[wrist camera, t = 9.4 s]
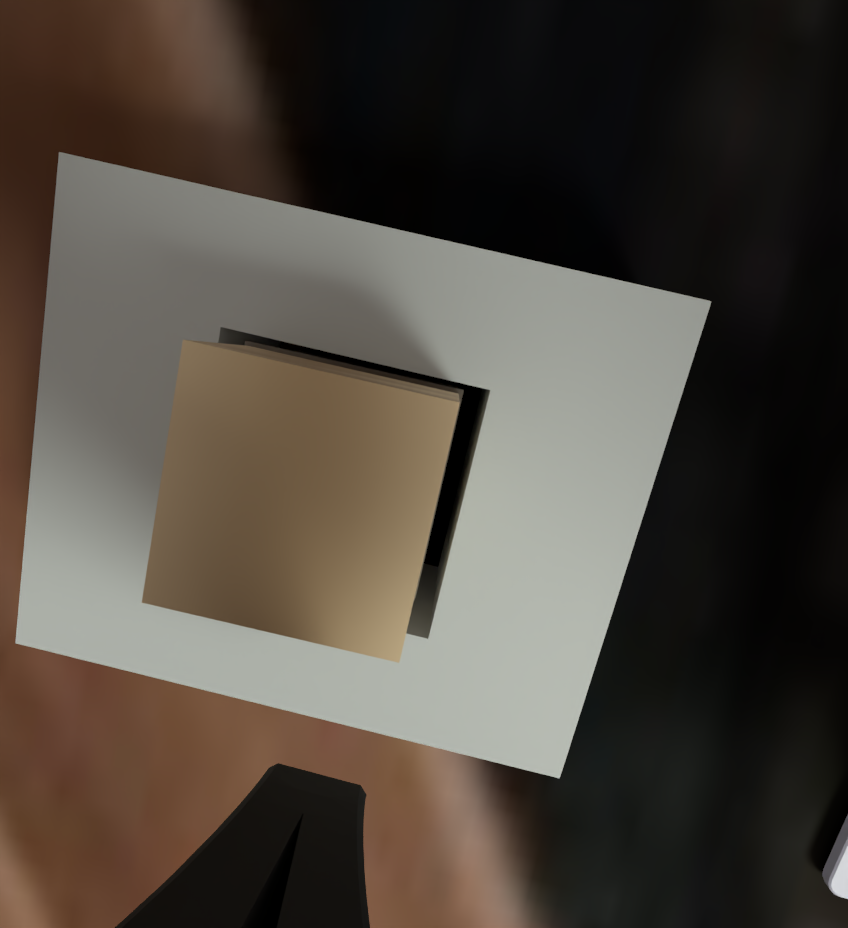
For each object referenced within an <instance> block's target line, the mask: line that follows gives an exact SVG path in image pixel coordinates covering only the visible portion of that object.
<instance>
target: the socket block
mask: <svg viewBox="0 0 848 928" xmlns="http://www.w3.org/2000/svg"><path fill="white" fill-rule="evenodd" d="M710 305H711V301H708V300H704V299H699V298H695V297H691V296H686V295H682V294H677V293H673V292H669V291H664V290H660V289H656V288H651V287H647V286H642V285H638V284H634V283H629V282H625V281H621V280H616V279H612V278H608V277H603V276H599V275H594V274H590V273H586V272H581V271H577V270H573V269H568V268H564V267H560V266H555V265H551V264H546V263H542V262H538V261H533V260H529V259H525V258H520V257H516V256H512V255H507V254H503V253H498V252H494V251H490V250H485V249H481V248H477V247H472V246H468V245H463V244H459V243H455V242H450V241H446V240H442V239H437V238H433V237H429V236H424V235H420V234H415V233H411V232H407V231H402V230H398V229H394V228H389V227H385V226H381V225H376V224H372V223H367V222H363V221H359V220H354V219H350V218H346V217H341V216H337V215H333V214H328V213H324V212H319V211H315V210H311V209H306V208H302V207H298V206H293V205H289V204H284V203H280V202H276V201H271V200H267V199H263V198H258V197H254V196H250V195H245V194H241V193H236V192H232V191H228V190H223V189H219V188H215V187H210V186H206V185H202V184H197V183H193V182H188V181H184V180H180V179H175V178H171V177H167V176H162V175H158V174H154V173H149V172H145V171H140V170H136V169H132V168H127V167H123V166H119V165H114V164H110V163H105V162H101V161H97V160H92V159H88V158H84V157H79V156H75V155H71V154H66V153H62V152H59V158H58V169H57V180H56V191H55V203H54V214H53V225H52V237H51V248H50V259H49V271H48V282H47V293H46V304H45V316H44V327H43V338H42V350H41V361H40V372H39V383H38V395H37V406H36V417H35V429H34V440H33V451H32V462H31V474H30V485H29V496H28V508H27V519H26V530H25V541H24V553H23V564H22V575H21V587H20V598H19V609H18V620H17V632H16V643H17V644H21V645H25V646H29V647H33V648H37V649H41V650H45V651H49V652H53V653H57V654H61V655H65V656H69V657H73V658H77V659H82V660H86V661H90V662H94V663H98V664H102V665H106V666H110V667H114V668H118V669H122V670H126V671H130V672H134V673H138V674H142V675H146V676H150V677H154V678H158V679H162V680H166V681H170V682H174V683H178V684H182V685H186V686H190V687H194V688H198V689H202V690H206V691H210V692H214V693H218V694H222V695H226V696H230V697H234V698H238V699H243V700H247V701H251V702H255V703H259V704H263V705H267V706H271V707H275V708H279V709H283V710H287V711H291V712H295V713H299V714H303V715H307V716H311V717H315V718H319V719H323V720H327V721H331V722H335V723H339V724H343V725H347V726H351V727H355V728H359V729H363V730H367V731H371V732H375V733H379V734H383V735H387V736H391V737H395V738H399V739H403V740H408V741H412V742H416V743H420V744H424V745H428V746H432V747H436V748H440V749H444V750H448V751H452V752H456V753H460V754H464V755H468V756H472V757H476V758H480V759H484V760H488V761H492V762H496V763H500V764H504V765H508V766H512V767H516V768H520V769H524V770H528V771H532V772H536V773H540V774H544V775H548V776H552V777H556V778H560V775H561V772H562V769H563V766H564V763H565V760H566V757H567V754H568V750H569V747H570V744H571V741H572V738H573V735H574V732H575V728H576V725H577V722H578V719H579V716H580V713H581V710H582V706H583V703H584V700H585V697H586V694H587V691H588V688H589V684H590V681H591V678H592V675H593V672H594V669H595V666H596V662H597V659H598V656H599V653H600V650H601V647H602V644H603V640H604V637H605V634H606V631H607V628H608V625H609V622H610V619H611V615H612V612H613V609H614V606H615V603H616V600H617V597H618V593H619V590H620V587H621V584H622V581H623V578H624V575H625V571H626V568H627V565H628V562H629V559H630V556H631V553H632V549H633V546H634V543H635V540H636V537H637V534H638V531H639V527H640V524H641V521H642V518H643V515H644V512H645V509H646V505H647V502H648V499H649V496H650V493H651V490H652V487H653V484H654V480H655V477H656V474H657V471H658V468H659V465H660V462H661V458H662V455H663V452H664V449H665V446H666V443H667V440H668V436H669V433H670V430H671V427H672V424H673V421H674V418H675V414H676V411H677V408H678V405H679V402H680V399H681V396H682V392H683V389H684V386H685V383H686V380H687V377H688V374H689V371H690V367H691V364H692V361H693V358H694V355H695V352H696V349H697V345H698V342H699V339H700V336H701V333H702V330H703V327H704V323H705V320H706V317H707V314H708V311H709V308H710ZM183 340H193V341H203V342H214V343H224V344H234V345H245V341H251V342H256V343H260V344H265V345H269V346H273V347H278V348H279V347H280V341H283V342H287V343H291V344H296V345H300V346H304V347H309V348H313V349H317V350H321V351H326V352H330V353H334V354H338V355H343V356H347V357H351V358H355V359H360V360H364V361H368V362H373V363H377V364H381V365H385V366H390V367H394V368H398V369H402V370H407V371H411V372H415V373H419V374H424V375H428V376H432V377H437V378H441V379H445V380H449V381H454V382H458V383H462V384H466V385H471V386H475V387H479V388H482V391H481V395H480V399H479V403H478V407H477V411H476V416H475V420H474V424H473V428H472V432H471V436H470V440H469V444H468V448H467V452H466V456H465V460H464V464H463V468H462V472H461V476H460V480H459V484H458V488H457V493H456V497H455V501H454V505H453V509H452V513H451V517H450V521H449V525H448V529H447V533H446V537H445V541H444V545H443V549H442V553H441V557H440V561H439V565H438V567H436V566H432V565H428V564H423V568H422V572H421V577H420V581H419V585H418V590H417V594H416V598H415V599H414V602H413V606H412V610H411V615H410V619H409V623H408V628H407V632H406V636H405V641H404V645H403V649H402V653H401V658H400V662H399V663H398V662H393V661H389V660H385V659H381V658H376V657H372V656H368V655H364V654H359V653H355V652H351V651H346V650H342V649H338V648H334V647H329V646H325V645H321V644H316V643H312V642H308V641H304V640H299V639H295V638H291V637H286V636H282V635H278V634H274V633H269V632H265V631H261V630H257V629H252V628H248V627H244V626H239V625H235V624H231V623H227V622H222V621H218V620H214V619H209V618H205V617H201V616H197V615H192V614H188V613H184V612H179V611H175V610H171V609H167V608H162V607H158V606H154V605H149V604H145V603H142V597H143V590H144V584H145V578H146V571H147V565H148V559H149V552H150V546H151V539H152V533H153V527H154V520H155V514H156V508H157V501H158V495H159V489H160V482H161V476H162V469H163V463H164V457H165V450H166V444H167V438H168V431H169V425H170V419H171V412H172V406H173V400H174V393H175V387H176V380H177V374H178V368H179V361H180V355H181V349H182V342H183Z"/></svg>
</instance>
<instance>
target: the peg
mask: <svg viewBox="0 0 848 928" xmlns="http://www.w3.org/2000/svg"><path fill="white" fill-rule="evenodd" d="M463 392H464V390H462V389H458V386H454V385H449V384H445V383H441V382H436V381H432V380H427V379H423V378H419V377H414V376H410V375H405V374H401V373H397V372H392V371H388V370H383V369H379V368H375V367H370V366H366V365H361V364H357V363H353V362H348V361H344V360H339V359H335V358H331V357H326V356H322V355H317V354H313V353H309V352H304V351H296V350H287V349H282V348H278V347H273V346H269V345H265V344H260V343H256V342H251V341H245V345H234V344H224V343H214V342H203V341H193V340H183V342H182V349H181V355H180V361H179V368H178V374H177V380H176V387H175V393H174V400H173V406H172V412H171V419H170V425H169V431H168V438H167V444H166V450H165V457H164V463H163V469H162V476H161V482H160V489H159V495H158V501H157V508H156V514H155V520H154V527H153V533H152V539H151V546H150V552H149V559H148V565H147V571H146V578H145V584H144V590H143V597H142V603H145V604H149V605H154V606H158V607H162V608H167V609H171V610H175V611H179V612H184V613H188V614H192V615H197V616H201V617H205V618H209V619H214V620H218V621H222V622H227V623H231V624H235V625H239V626H244V627H248V628H252V629H257V630H261V631H265V632H269V633H274V634H278V635H282V636H286V637H291V638H295V639H299V640H304V641H308V642H312V643H316V644H321V645H325V646H329V647H334V648H338V649H342V650H346V651H351V652H355V653H359V654H364V655H368V656H372V657H376V658H381V659H385V660H389V661H393V662H398V663H399V662H400V658H401V653H402V649H403V645H404V641H405V636H406V632H407V628H408V623H409V619H410V615H411V610H412V606H413V602H414V599H415V598H416V594H417V590H418V585H419V581H420V577H421V572H422V568H423V564H424V559H425V555H426V551H427V547H428V542H429V538H430V534H431V529H432V525H433V521H434V517H435V512H436V508H437V504H438V499H439V495H440V491H441V487H442V482H443V478H444V474H445V469H446V465H447V461H448V456H449V452H450V448H451V444H452V439H453V435H454V431H455V426H456V422H457V418H458V414H459V409H460V405H461V401H462V396H463Z"/></svg>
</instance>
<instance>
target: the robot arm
mask: <svg viewBox="0 0 848 928" xmlns="http://www.w3.org/2000/svg"><path fill="white" fill-rule="evenodd" d="M365 798H366V793H365V792H364V790H363V789H362V787H361V785H357V784H353V783H350V782H346V781H342V780H338V779H335V778H331V777H327V776H323V775H320V774H316V773H312V772H308V771H305V770H301V769H297V768H294V767H290V766H286V765H282V764H279V763H278V764H276V765H274V766H272V767H270V768H269V769H268V770H267V771H266V773H265V774H264V775H263V777H262V778H261V779H260V781H259V782H258V783H257V784H256V786H255V787H254V788H253V789H252V790H251V792H250V793H249V794H248V795H247V796H246V798H245V799H244V800H243V801H242V802H241V803H240V805H239V806H238V807H237V808H236V809H235V810H234V811H233V812H232V814H231V815H230V816H229V817H228V818H227V819H226V820H225V821H224V822H223V823H222V824H221V826H220V827H219V828H218V829H217V830H216V831H215V832H214V833H213V834H212V835H211V836H210V837H209V838H208V839H207V840H206V841H205V842H204V843H203V844H202V845H201V846H200V847H199V848H198V849H197V850H196V851H195V852H194V853H193V854H192V855H191V856H190V857H189V859H188V860H187V861H186V862H185V863H184V864H183V865H182V866H181V867H180V868H179V869H178V870H177V871H176V872H175V873H174V874H173V875H172V876H171V877H170V878H168V879H167V880H166V881H165V882H164V883H163V884H162V885H161V886H160V887H159V888H158V889H157V890H156V891H155V892H154V893H152V894H151V895H150V896H149V897H148V898H147V899H146V900H145V901H144V902H143V903H141V904H140V905H139V906H138V907H137V908H136V909H135V910H134V911H133V912H132V913H131V914H129V915H128V916H127V917H126V918H125V919H124V920H123V921H122V922H121V923H120V924H118V925H117V926H116V927H115V928H370V924H369V915H368V907H367V898H366V886H365V873H364V852H363V819H364V805H365ZM822 875H823V879H824V881H825V883H826V884H827V886H828V887H829V889H830V890H831V891H832V892H833V893H834V894H835V895H837V896H839V897H842V898H846V899H848V815H847V817H846V819H845V821H844V824H843V826H842V828H841V830H840V833H839V835H838V837H837V839H836V842H835V844H834V846H833V848H832V851H831V853H830V855H829V857H828V860H827V862H826V864H825V866H824V869H823V874H822Z"/></svg>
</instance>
